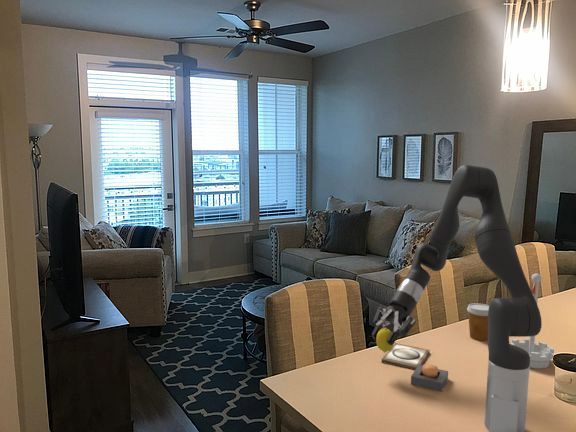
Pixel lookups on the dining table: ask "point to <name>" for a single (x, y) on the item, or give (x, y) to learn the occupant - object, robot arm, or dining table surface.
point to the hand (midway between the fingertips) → (381, 340)
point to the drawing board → (405, 356)
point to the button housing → (429, 379)
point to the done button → (430, 371)
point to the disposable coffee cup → (478, 321)
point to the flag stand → (537, 352)
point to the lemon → (383, 340)
